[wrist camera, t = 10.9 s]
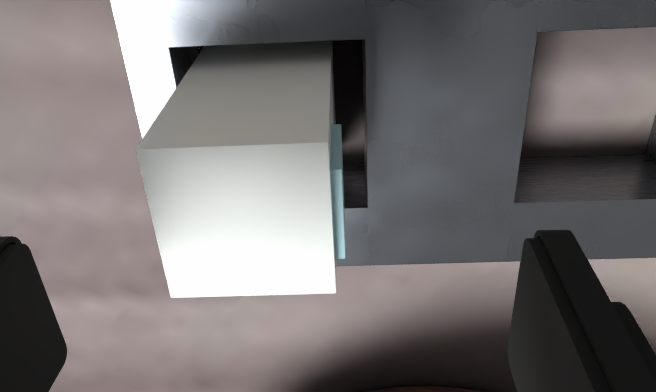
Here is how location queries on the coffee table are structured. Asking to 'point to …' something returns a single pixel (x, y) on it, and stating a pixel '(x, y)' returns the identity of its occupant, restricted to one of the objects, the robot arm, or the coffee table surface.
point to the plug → (249, 173)
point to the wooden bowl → (423, 389)
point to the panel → (429, 119)
